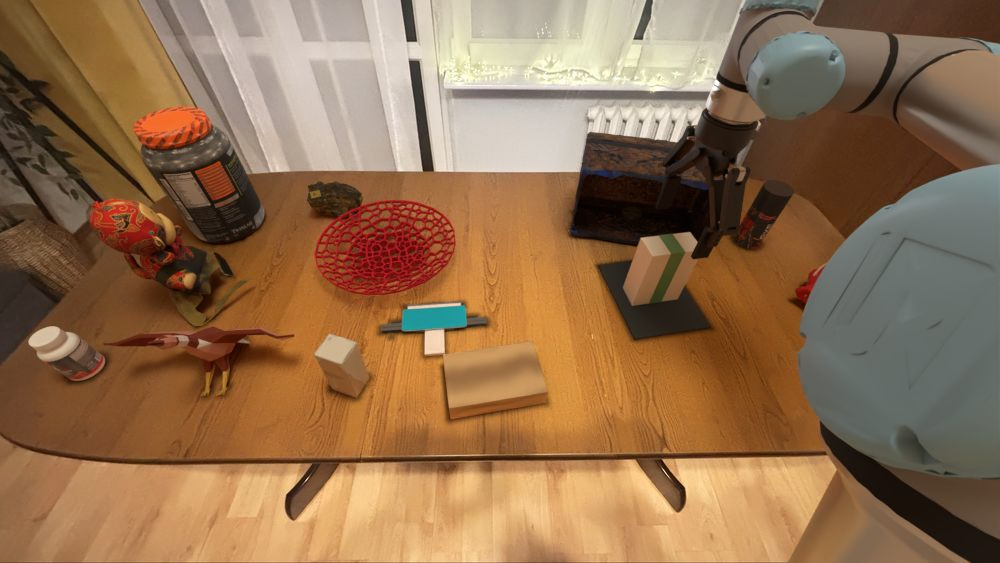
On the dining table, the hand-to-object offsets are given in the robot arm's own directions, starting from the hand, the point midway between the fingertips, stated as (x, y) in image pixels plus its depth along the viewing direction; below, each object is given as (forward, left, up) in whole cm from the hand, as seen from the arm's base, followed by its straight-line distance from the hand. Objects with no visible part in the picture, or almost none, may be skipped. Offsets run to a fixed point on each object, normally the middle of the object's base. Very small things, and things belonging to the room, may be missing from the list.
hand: (679, 230), depth 73 cm
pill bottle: (+1, +105, -18) cm, 106 cm away
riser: (-14, +36, -18) cm, 43 cm away
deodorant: (+12, -30, -18) cm, 37 cm away
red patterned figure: (+15, +90, -18) cm, 93 cm away
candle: (-8, -35, -18) cm, 40 cm away
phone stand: (-1, +45, -18) cm, 48 cm away
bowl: (+20, +53, -18) cm, 59 cm away
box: (-10, +60, -18) cm, 63 cm away
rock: (+39, +65, -18) cm, 78 cm away
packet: (0, 0, -10) cm, 10 cm away
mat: (0, 0, -18) cm, 18 cm away
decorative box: (+22, -5, -18) cm, 29 cm away
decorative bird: (-3, +81, -18) cm, 83 cm away
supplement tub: (+38, +90, -18) cm, 99 cm away
